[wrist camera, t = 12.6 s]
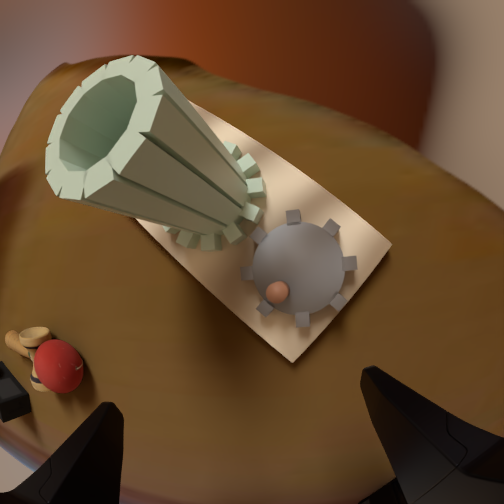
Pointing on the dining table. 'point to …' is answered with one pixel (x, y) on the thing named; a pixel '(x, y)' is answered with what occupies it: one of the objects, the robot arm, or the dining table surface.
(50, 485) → the robot arm
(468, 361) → the dining table surface
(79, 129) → the gear sleeve
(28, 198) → the dining table surface
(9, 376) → the digital camera
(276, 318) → the gear board
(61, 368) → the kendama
